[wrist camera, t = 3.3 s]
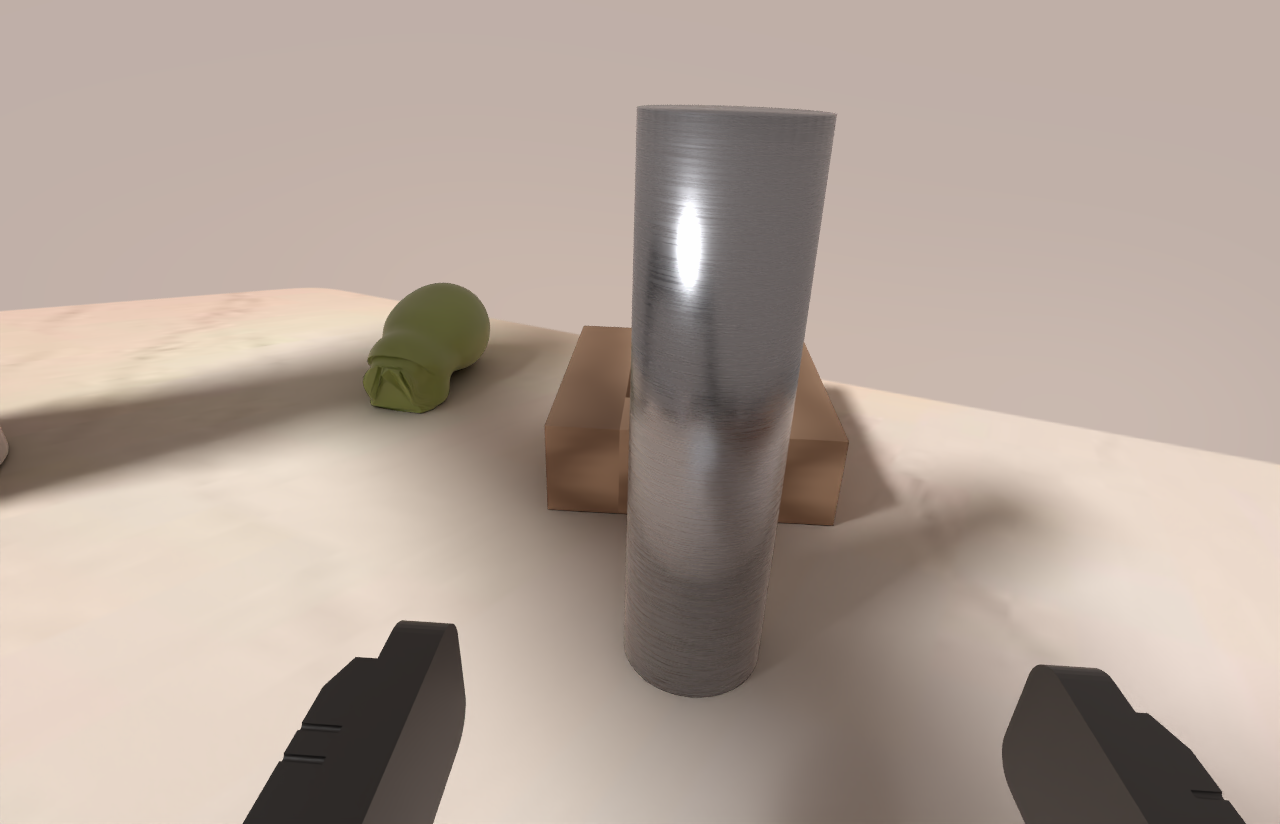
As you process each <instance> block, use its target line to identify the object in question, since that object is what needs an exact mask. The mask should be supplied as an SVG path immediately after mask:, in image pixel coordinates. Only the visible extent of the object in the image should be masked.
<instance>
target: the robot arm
mask: <svg viewBox="0 0 1280 824" xmlns="http://www.w3.org/2000/svg"><path fill="white" fill-rule="evenodd" d="M8 446H9V444H8V442H7V440H6V438H5V436H4V433H3V431H2V429H1V427H0V464H1V463H2V462H3V461H4V459H5V457H6V456H7V454H8ZM465 708H466V698H465V689H464V681H463V673H462V664H461V656H460V648H459V640H458V633H457V629H456V626H455V625H454V624H448V623H433V622H418V621H403V620H402V621H400V622H398V623H397V624H396V626H395V627H394V629H393V630H392V632H391V634H390V636H389V638H388V640H387V642H386V643H385V645H384V647H383V649H382V651H381V653H380V655H379V657H378V659H377V658H362V657H355V658H354V659H353V660H352V661H351V662H350V663H349V664H348V665H346V666H345V667H344V668H343V669H342V670H341V671H340V672H339V673H338V674H336V675H335V676H334V677H333V678H332V679H331V680H330V681H329V682H328V683H327V684H325V685H324V686H323V688H322V689H321V691H320V693H319V694H318V696H317V698H316V700H315V701H314V703H313V705H312V706H311V708H310V710H309V711H308V713H307V715H306V717H305V718H304V720H303V722H302V727H301V729H300V730H297V732H296V734H295V735H294V737H293V739H292V740H291V742H290V744H289V746H288V747H287V749H286V751H285V752H284V758H283V760H282V762H281V761H279V763H278V764H277V766H276V768H275V769H274V771H273V773H272V775H271V776H270V778H269V780H268V781H267V783H266V785H265V786H264V788H263V790H262V792H261V793H260V795H259V797H258V798H257V800H256V802H255V803H254V805H253V807H252V809H251V810H250V812H249V814H248V815H247V817H246V819H245V821H244V822H243V824H433V822H434V819H435V816H436V813H437V810H438V807H439V804H440V801H441V798H442V795H443V792H444V789H445V786H446V783H447V780H448V777H449V774H450V771H451V768H452V765H453V762H454V759H455V756H456V753H457V750H458V747H459V744H460V740H461V736H462V731H463V726H464V719H465ZM1002 760H1003V768H1004V773H1005V777H1006V780H1007V784H1008V786H1009V789H1010V791H1011V793H1012V795H1013V798H1014V800H1015V802H1016V804H1017V806H1018V809H1019V811H1020V813H1021V815H1022V817H1023V820H1024V822H1025V824H1246V823H1245V822H1244V821H1243V819H1242V818H1241V816H1240V815H1239V814H1238V812H1237V811H1236V810H1235V808H1234V807H1233V806H1232V804H1231V803H1230V802H1229V801H1226V800H1224V799H1223V797H1222V791H1221V790H1220V788H1219V787H1218V786H1217V784H1216V783H1215V782H1214V780H1213V779H1212V778H1211V776H1210V775H1209V774H1208V772H1207V771H1206V770H1205V768H1204V767H1203V766H1202V764H1201V763H1200V762H1199V760H1198V759H1197V758H1196V756H1195V755H1194V754H1193V752H1192V751H1191V750H1190V749H1189V748H1188V747H1187V746H1186V745H1184V744H1183V743H1182V742H1181V741H1180V740H1179V739H1177V738H1176V737H1175V736H1174V735H1173V734H1172V733H1170V732H1169V731H1168V730H1167V729H1166V728H1165V727H1163V726H1162V725H1161V724H1160V723H1159V722H1158V721H1156V720H1155V719H1154V718H1153V717H1152V716H1151V715H1149V714H1148V713H1136V712H1135V711H1134V709H1133V708H1132V707H1131V705H1130V704H1129V702H1128V701H1127V700H1126V698H1125V697H1124V695H1123V694H1122V692H1121V691H1120V690H1119V688H1118V687H1117V685H1116V684H1115V682H1114V681H1113V680H1112V679H1111V677H1110V676H1109V675H1108V674H1106V673H1105V672H1104V671H1102V670H1100V669H1097V668H1084V667H1069V666H1054V665H1037V666H1035V667H1034V668H1033V669H1032V670H1031V672H1030V674H1029V676H1028V679H1027V681H1026V684H1025V686H1024V689H1023V691H1022V694H1021V696H1020V699H1019V701H1018V704H1017V706H1016V709H1015V711H1014V714H1013V716H1012V718H1011V721H1010V723H1009V726H1008V728H1007V731H1006V733H1005V736H1004V739H1003V745H1002Z"/></svg>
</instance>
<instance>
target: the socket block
mask: <svg viewBox="0 0 1280 824" xmlns="http://www.w3.org/2000/svg"><path fill="white" fill-rule="evenodd" d="M631 336H632V328H622V327H620V328H619V327H600V326H584V327H583V330H582V332H581V335H580V337H579V340H578V342H577V345H576V347H575V350H574V352H573V355H572V357H571V360H570V362H569V365H568V367H567V370H566V373H565V375H564V378H563V380H562V383H561V385H560V388H559V390H558V393H557V395H556V398H555V400H554V403H553V406H552V408H551V411H550V413H549V416H548V418H547V421H546V423H545V451H546V477H547V503H548V509H553V510H571V511H588V512H606V513H623V514H627V501H628V460H629V419H630V377H631ZM848 444H849V441H848V438H847V436H846V434H845V432H844V430H843V427H842V425H841V423H840V421H839V418H838V416H837V414H836V412H835V410H834V407H833V405H832V403H831V401H830V399H829V396H828V394H827V392H826V390H825V387H824V385H823V383H822V381H821V379H820V376H819V374H818V372H817V370H816V368H815V365H814V363H813V361H812V359H811V356H810V354H809V352H808V350H807V348H806V345H805V343H803V350H802V357H801V364H800V371H799V378H798V385H797V392H796V398H795V405H794V412H793V419H792V426H791V433H790V440H789V447H788V453H787V460H786V467H785V474H784V481H783V488H782V495H781V502H780V508H779V515H778V522H781V523H798V524H816V525H833V523H834V518H835V512H836V507H837V502H838V497H839V492H840V486H841V481H842V476H843V471H844V465H845V460H846V455H847V450H848Z"/></svg>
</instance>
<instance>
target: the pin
mask: <svg viewBox="0 0 1280 824" xmlns="http://www.w3.org/2000/svg"><path fill="white" fill-rule="evenodd" d="M836 116H837V114H835V113H829V112H822V111H811V110H799V109H782V108H766V107H743V106H714V105H647V106H638V107H637V132H636V172H635V213H634V214H635V215H634V216H635V217H634V254H633V255H634V256H633V257H634V259H633V295H632V297H633V298H632V336H631V377H630V419H629V460H628V501H627V542H626V584H625V625H624V647H625V652H626V655H627V658H628V660H629V662H630V664H631V665H632V667H633V668H634V669H635V671H636V672H637V673H638V674H639V675H640V676H641V677H642V678H643V679H645V680H646V681H647V682H649V683H650V684H652V685H653V686H655V687H657V688H659V689H661V690H663V691H666V692H669V693H672V694H676V695H680V696H687V697H708V696H714V695H719V694H722V693H725V692H728V691H730V690H732V689H734V688H736V687H737V686H739V685H740V684H742V683H743V682H744V681H745V680H746V679H747V678H748V677H749V676H750V674H751V673H752V672H753V670H754V668H755V666H756V663H757V660H758V653H759V646H760V639H761V632H762V625H763V619H764V612H765V605H766V598H767V591H768V584H769V577H770V570H771V564H772V557H773V550H774V543H775V536H776V529H777V522H778V515H779V508H780V502H781V495H782V488H783V481H784V474H785V467H786V460H787V453H788V447H789V440H790V433H791V426H792V419H793V412H794V405H795V398H796V392H797V385H798V378H799V371H800V364H801V357H802V350H803V343H804V337H805V329H806V323H807V316H808V308H809V302H810V295H811V288H812V281H813V274H814V268H815V260H816V254H817V247H818V240H819V232H820V226H821V220H822V213H823V206H824V199H825V192H826V185H827V178H828V171H829V165H830V157H831V151H832V144H833V137H834V130H835V123H836Z"/></svg>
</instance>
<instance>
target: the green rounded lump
mask: <svg viewBox="0 0 1280 824" xmlns="http://www.w3.org/2000/svg"><path fill="white" fill-rule="evenodd" d="M489 334H490V323H489V318H488V314H487V312H486V309H485V307H484V305H483V304H482V302H481V301H480V300H479V299H478V297H477V296H476V295H475V294H473V293H472V292H471V291H469V290H467V289H466V288H464V287H461V286H458V285H455V284H451V283H435V284H430V285H427V286H424V287H421V288H419V289H417V290H415V291H414V292H412V293H411V294H409V295H408V296H406V297H405V298H404V299H403V300H401V301H400V302H399V303H398V304H397V305H396V306H395V307H394V309H393V310H392V311H391V313H390V314H389V316H388V318H387V320H386V322H385V325H384V329H383V337H382V338H381V339H380V340H379V341H378V342H377V343H376V344H375V345H374V346H373V348H372V349H371V351H370V353H369V356H368V359H367V362H368V364H369V365H370V366H371V367H370V369H369V370H368V371H367V372H366V373H365V375H364V379H363V385H364V388H365V391H366V392H367V394H368V395H369V397H370V399H371V400H370V403H371V405H372V406H376V407H381V408H386V409H391V410H396V411H403V412H414V413H423V412H426V411H429V410H432V409H434V408H435V407H436V406H437V405H439V404H441V403H442V402H444V401H445V400H446V398H447V397H448V394H449V389H450V377H451V374H452V373H453V372H454V371H456V370H460V369H463V368H466V367H468V366H470V365H472V364H473V363H474V362H476V361H477V360H478V359H479V358H480V357H481V355H482V354H483V352H484V351H485V349H486V346H487V343H488V340H489Z"/></svg>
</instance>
